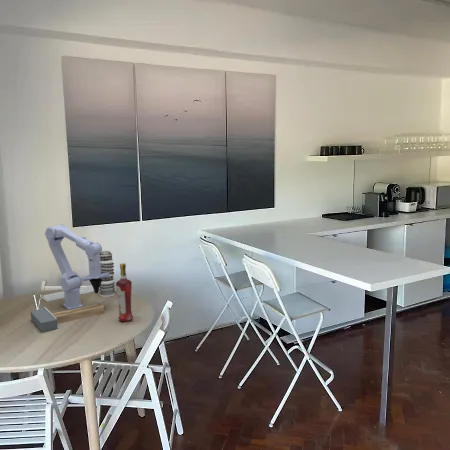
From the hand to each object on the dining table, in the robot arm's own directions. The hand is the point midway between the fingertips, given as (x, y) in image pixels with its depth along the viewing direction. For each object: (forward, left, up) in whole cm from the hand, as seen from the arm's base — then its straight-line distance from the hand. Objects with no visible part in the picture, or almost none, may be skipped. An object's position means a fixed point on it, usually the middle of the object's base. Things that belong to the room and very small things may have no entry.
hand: (96, 292), depth 242 cm
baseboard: (-36, -3, -10) cm, 38 cm away
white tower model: (-22, +14, -10) cm, 28 cm away
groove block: (+3, -27, -9) cm, 29 cm away
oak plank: (+3, -13, -9) cm, 16 cm away
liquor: (+22, +6, -10) cm, 25 cm away
